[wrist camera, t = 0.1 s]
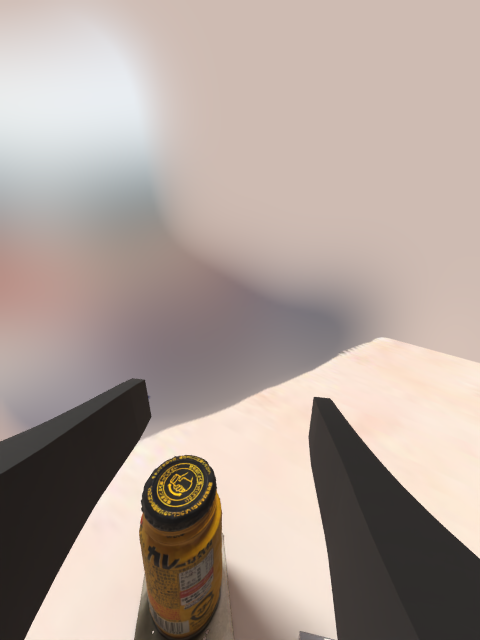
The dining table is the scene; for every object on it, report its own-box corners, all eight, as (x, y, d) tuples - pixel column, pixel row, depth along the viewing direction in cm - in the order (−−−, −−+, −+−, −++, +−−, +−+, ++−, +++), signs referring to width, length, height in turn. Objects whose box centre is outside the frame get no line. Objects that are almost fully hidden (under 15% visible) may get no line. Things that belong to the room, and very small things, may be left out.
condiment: (222, 533, 24) (221, 439, 20) (237, 676, 16) (240, 560, 12) (148, 550, 22) (134, 452, 19) (123, 716, 14) (91, 597, 11)
